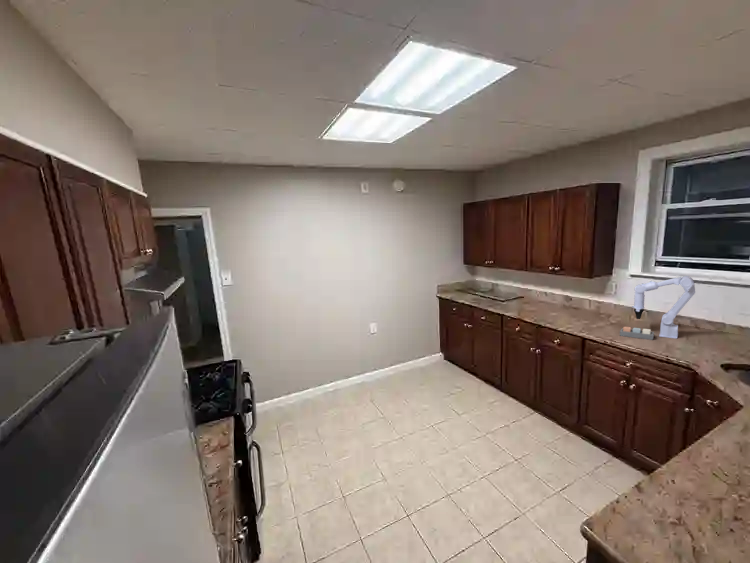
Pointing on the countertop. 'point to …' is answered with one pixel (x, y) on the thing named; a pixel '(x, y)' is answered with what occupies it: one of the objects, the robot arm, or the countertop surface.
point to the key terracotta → (627, 329)
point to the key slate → (637, 330)
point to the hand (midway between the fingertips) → (638, 318)
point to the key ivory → (646, 331)
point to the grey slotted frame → (637, 334)
